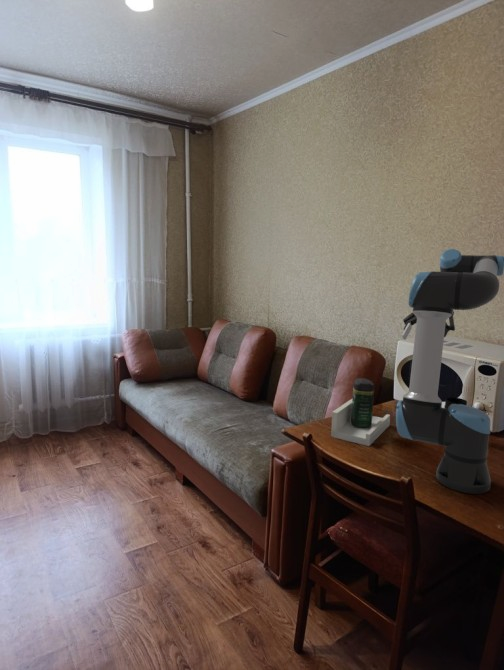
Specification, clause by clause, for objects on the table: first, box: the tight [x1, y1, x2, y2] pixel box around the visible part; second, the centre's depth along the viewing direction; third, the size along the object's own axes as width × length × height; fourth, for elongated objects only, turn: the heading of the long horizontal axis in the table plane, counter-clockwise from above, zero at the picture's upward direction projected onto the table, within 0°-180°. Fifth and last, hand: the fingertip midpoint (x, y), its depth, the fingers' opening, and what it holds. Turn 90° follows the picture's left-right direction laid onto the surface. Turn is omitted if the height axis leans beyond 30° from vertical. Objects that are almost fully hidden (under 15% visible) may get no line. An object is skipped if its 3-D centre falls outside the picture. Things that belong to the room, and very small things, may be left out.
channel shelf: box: [330, 398, 391, 447], centre depth 173 cm, size 26×15×10 cm, turn 147°
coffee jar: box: [351, 377, 375, 428], centre depth 172 cm, size 10×8×19 cm
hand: (419, 340), depth 166 cm, fingers open, 13 cm apart
